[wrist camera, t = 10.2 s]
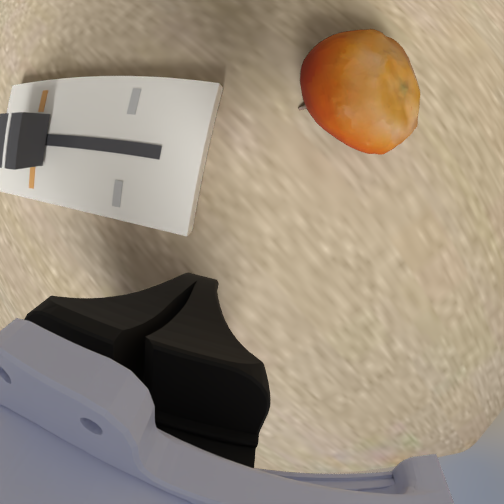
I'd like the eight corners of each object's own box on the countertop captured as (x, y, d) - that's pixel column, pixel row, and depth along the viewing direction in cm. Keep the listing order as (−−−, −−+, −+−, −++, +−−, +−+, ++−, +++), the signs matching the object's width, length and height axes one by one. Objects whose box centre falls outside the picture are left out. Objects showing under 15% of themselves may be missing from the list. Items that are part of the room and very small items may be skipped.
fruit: (280, 26, 15) (366, -5, 9) (359, 66, 19) (441, 64, 13) (257, 128, 18) (343, 134, 11) (342, 154, 22) (425, 173, 15)
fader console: (223, 88, 18) (219, 83, 17) (192, 231, 22) (186, 236, 20) (22, 86, 18) (11, 85, 17) (7, 188, 22) (-3, 191, 20)
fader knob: (50, 114, 18) (21, 112, 14) (42, 165, 19) (14, 170, 16) (26, 114, 18) (-1, 113, 14) (20, 162, 19) (-8, 166, 16)
